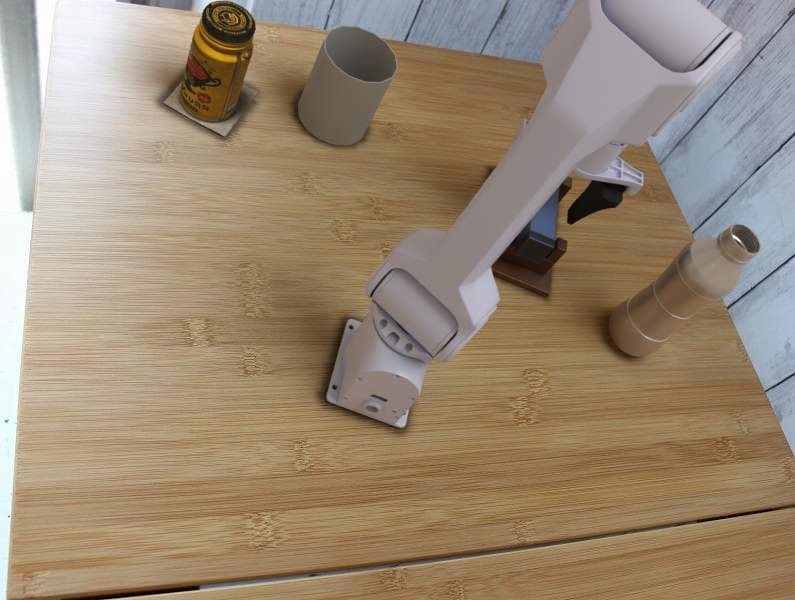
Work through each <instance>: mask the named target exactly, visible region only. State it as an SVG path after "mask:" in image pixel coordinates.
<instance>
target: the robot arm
mask: <svg viewBox="0 0 795 600" xmlns="http://www.w3.org/2000/svg"><path fill="white" fill-rule="evenodd" d="M742 39H743V34H741V32H739V31H738V30H735V31H733V30H732V28H730V27H729V26H728V25H727V24H725V23H724V21H722V20H720V18H718V17H717V16H716V15H715V14H714V13H713V12H712V11H710V10H709V9H708V8H707V7H705V5H703V4H702V3H701V2H700V1H699V0H574V2H573V4H572V5H571V7H570V8H569V10H567V12H566V14H565V15H564V17H563V18H562V19H561V21H560V22H559V24H558V25H557V26H556V28H555V30H554V31H553V32H552V34H551V35H550V37H549V38H548V40H547V46H546V47H545V49H544V51H543V52H542V54H540V57H539V60H540V64H541V67H542V70H543V74H544V78H545V82H546V88H545V90H544V92H543V93H542V95H541V97H540V99H539V101H538V104H537V105H536V108H535V109H534V111H533V113H532V115H531V117H530V119H527V118H524V119H523V120H522V121H521V122H520V124H519V125H518V126H517V128H516V130H515V133H514V142H513V144H512V145H511V146H510V147H509V149H508V150H507V151H506V152H505V154H504V156H503V157H502V158H501V160H500V161H498V164H497V165H495V166H496V168H495V169H494V170H493V169H492V170H493V172H492V171H491V172H490V174H489V176H488V177H487V178H486V180H485V181H484V182H483V184H482V185H481V186H480V188H479V189H478V191H477V192H476V193H475V195H474V196H473V197H472V198H471V200H470V201H469V202H468V204H467V205H466V206H465V208H464V209H463V211H462V212H461V213H460V215H459V216H458V218H457V219H456V221H454V223H453V225H452V226H451V227H450V228H449V230H448V231H444V230H439V229H434V228H429V227H422V228H420V229H418V230H416V231H415V230H414V231H413V232H410V234H408V235H407V236H406V237H404V239H402V240H401V241H400V242H399V243H397V245H396V246H394V248H393V249H392V250H391V251H390V253H389V254H388V255H387V256H386V257H385V258H384V259H383V260H382V261H381V262H380V263H379V265H378V266H377V267H376V268H375V269H374V270H373V272H372V273H371V274H370V276H369V277H368V279H367V280H366V282H365V290H364V291H365V292H364V294H365V296H367V297H368V298H369V299H371V300H370V301H369V303H368V304H367V306H366V308H367V309H368V310H369V312H368V313H367V314H366V316H365V317H364V318H363V320H362V321H359V320H357V319H354V318H349V319H347V321H346V323H345V327H344V330H343V334H342V338H341V341H340V345H339V348H338V352H337V356H336V360H335V363H334V367H333V370H332V373H331V378H330V381H329V385H328V389H327V392H326V396H325V399H326V401H327V402H328V403H330V404H333V405H336V406H339V407H342V408H343V409H347V410H350V411H352V412H355V413H358V414H361V415H363V416H366V417H368V418H371V419H374V420H376V421H379V422H382V423H384V424H387V425H390V426H393V427H396V428H397V429H403V428H405V426H406V425H407V421H408V417H409V416H408V415H409V412H410V408H411V407H412V406H413V405H414V404H415V403H416V402H417V401H418V400H419V399H420V395H421V393H422V388H423V383H424V380H425V376H426V373H427V370H428V368H429V366H430V365H431V363H432V362H433V360H434V361H435V362H436V363H437V364H439V365H440V364H442V363H443V364H448V363H450V362H451V361H452V360H453V358H454V357H455V356H456V355H457V354H458V353H459V352H460V351H461V350H462V349H463V348H464V347H465V346H466V345H467V344H468V343H469V341H470V340H472V339H473V337H474V336H475V335H476V334H477V333H478V332H479V331H480V330H481V329H482V328H483V327H484V326H485V325H486V323H487V322H488V321H489V320H490V317H491V316H492V315H493V313H495V311H496V310H497V309H498V303H499V302H500V301H501V297H500V293H499V290H498V286H497V282H496V280H495V277H494V275H493V273H492V270H491V266H492V265H493V263H494V262H495V261H496V260H497V259H498V258H499V256H500V255H501V254H502V253H503V252H504V250H505V249H506V248H507V247H508V246H509V245H510V243H511V242H512V241H513V240H514V239H515V238H516V236H517V235H518V234H519V233H520V232H521V231H522V229H523V228H524V227H525V226H526V225H527V223H528V222H529V221H530V220H531V219H532V218H533V216H534V215H535V214H536V213H537V212H538V211H539V209H540V208H541V207H542V206H543V205H544V204H545V202H546V201H547V200H548V199H549V198H550V196H551V195H552V194H553V193H554V192H555V191H556V189H557V188H558V187H559V186H560V185H561V184H562V182H563V181H564V180H565V179H566V178H567V177H569V175H570V174H571V173H572V174H574V175H575V176H577V177H579V178H582V179H585V180H588V181H589V180H590V182H589V184H588V185H587V186H586V188H585V189H584V190H583V191H582V192H581V194H580V195H579V196H577V198H576V199H575V200H574V201H573V202H572V203H571V205H570V206H569V208H568V209H567V214H566V224H568V225H570V226H571V225H574V224H576V223H577V222H579V221H581V220H583V219H585V218H586V217H588V216H590V215H593V214H595V213H597V212H600V211H604V210H610V209H616V208H617V207H619V206H620V205H621V204H622V202H623V200H624V193H625V194H626V195H628V196H631V197H634V196H635V195H636V194H637V193H638V192H639V191H641V189H642V187H643V186H644V173H643V172H641V171H640V170H638V169H636V168H634V167H633V166H631V164H628V163H627V162H626V161H625V160H623V159H622V158H620V157H619V155H620V154H621V153H622V152H623V151H624V150H625V149H626V148H627V146H634V147H642V146H643V145H644V144H645V143H646V142H647V141H649V139H650V138H651V137H654V138H655V137H657V136H659V134H660V133H661V132H662V131H663V130H664V129H665V128H666V127H667V126H668V125H669V124H670V123H671V122H672V121H673V120H674V118H676V117H677V115H679V114H680V113H682V112H684V110H686V109H687V108H688V107H689V106H690V105H691V104H692V103H693V101H694V100H695V99H696V98H697V97H698V96H699V95H700V94H701V93H702V92H703V91H704V90H705V88H707V87H708V86H709V85H710V83H712V81H713V80H714V79H715V78H716V77H717V76H718V75H719V74H720V73H721V72H722V71H723V69H724V68H726V66H727V65H728V64H729V63H730V62H731V61H732V60H733V59H734V58H735V57H736V55H738V53H739V52H740V51H741V50H742V45H743V44H742Z"/></svg>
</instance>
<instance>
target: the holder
mask: <svg viewBox="0 0 795 600" xmlns="http://www.w3.org/2000/svg"><path fill="white" fill-rule="evenodd" d="M496 166H497V165H494V166H493V168H492V170H491V173H492V172H493V170H494V169H495V168H496ZM572 188H573V178H572V177H570V176H568V177H567V178H566V179H565V180H564V181H563V182H562V184H561V185H560V186H559V196H558V204H559V203H560V202H561V201H562V200H563V198H565V196H567V194H568V193H569V192H570V190H572ZM558 211H559V205H558V206H557V213H559V212H558ZM557 220H558V216H557V217H556V223H557ZM556 232H557V227H556V228H555V234H556ZM517 236H518V235H517ZM517 236H516V238H515V239H514V240H513V241H512V242H511V243H510V245H509V246H508V247H507V248H506V249H505V250H504V252H503V253H502V254H501V255H500V256H499V258H498V259H497V260H496V261H495V262H494V263H493V265H492V266H491V270H492V273H493V277H494V276H495V277H497V278H499V279H502V280H504V281H506V282H509V283H511V284H514V285H516V286H518V287H520V288H523V289H525V290H528V291H531V292H533V293H534V294H538V295H539V296H542V297H545V298H547V297H548V296H549V295H550V294H551V285H552V274H553V266H555V264H556V263H557V262H558V261H559V260H560V259H561V258H562V257H563V256H564V255H565V254H566V253H567V250H568V240H566V239H564V238H562V237H557V238H556V237H555V238H554V240H555V242H554V248H553V249H552V250H551V252H550V253H549V254H548V255H547V256H546V257H545V258H544V259H543V260H542V261H541V262H540V263H536V262H534V261H532V260H529V259H527V258H525V257H522V256H520V255H517V254H515V248H516V244H517Z"/></svg>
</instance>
